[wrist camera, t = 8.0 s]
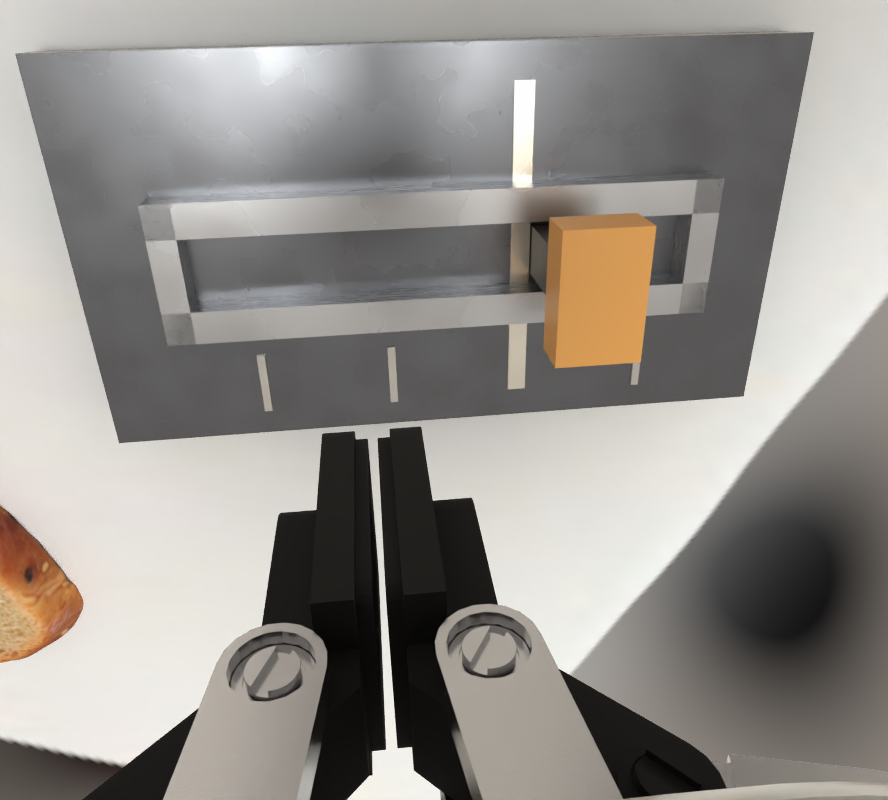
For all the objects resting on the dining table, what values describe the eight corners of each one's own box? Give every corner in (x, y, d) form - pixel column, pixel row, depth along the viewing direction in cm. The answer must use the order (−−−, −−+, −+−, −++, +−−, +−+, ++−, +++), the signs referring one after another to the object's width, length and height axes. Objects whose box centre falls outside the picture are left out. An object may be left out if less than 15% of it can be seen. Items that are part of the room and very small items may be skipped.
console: (782, 31, 27) (834, 32, 24) (722, 376, 33) (757, 409, 30) (39, 51, 24) (-2, 55, 21) (132, 418, 31) (110, 458, 28)
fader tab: (598, 186, 26) (656, 225, 21) (589, 302, 28) (640, 362, 23) (522, 190, 26) (562, 230, 21) (518, 306, 28) (555, 368, 23)
